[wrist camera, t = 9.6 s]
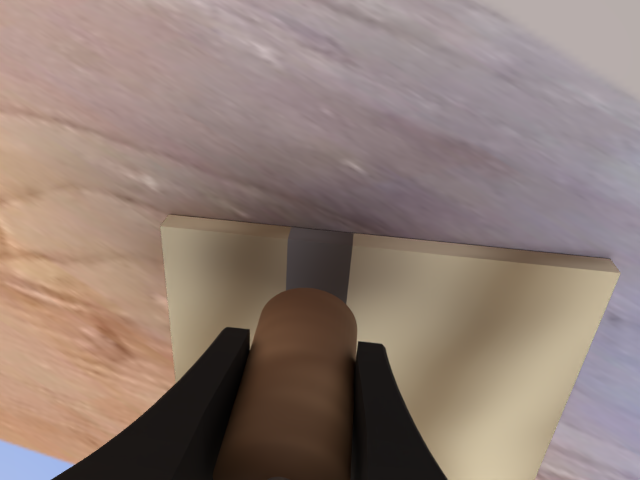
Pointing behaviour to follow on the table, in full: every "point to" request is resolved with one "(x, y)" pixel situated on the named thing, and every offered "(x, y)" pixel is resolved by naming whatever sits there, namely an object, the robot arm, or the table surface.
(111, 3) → the table surface
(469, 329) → the plywood panel
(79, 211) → the table surface
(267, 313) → the awl
